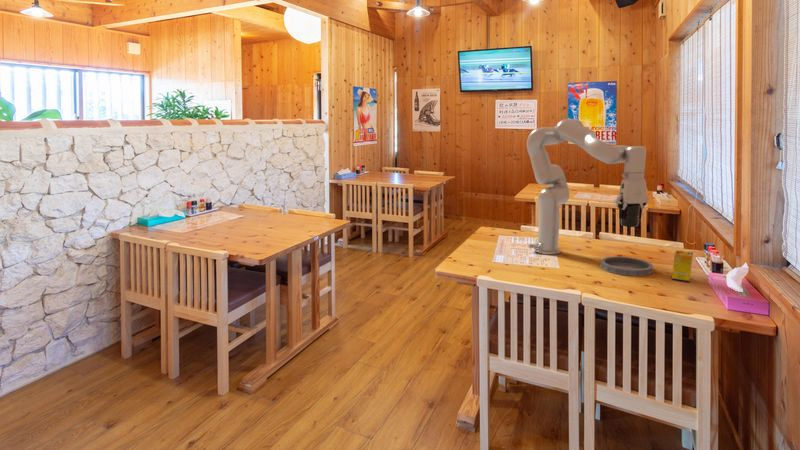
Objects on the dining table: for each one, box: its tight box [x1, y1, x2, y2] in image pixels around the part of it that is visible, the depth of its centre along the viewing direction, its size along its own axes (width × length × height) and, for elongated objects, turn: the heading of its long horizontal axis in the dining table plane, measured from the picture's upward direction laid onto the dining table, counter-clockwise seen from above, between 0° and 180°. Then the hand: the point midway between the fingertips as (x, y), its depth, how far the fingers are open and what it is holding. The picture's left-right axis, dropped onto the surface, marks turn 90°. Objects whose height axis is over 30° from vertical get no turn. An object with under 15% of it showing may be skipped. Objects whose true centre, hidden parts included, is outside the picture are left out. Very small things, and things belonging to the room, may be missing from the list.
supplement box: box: [671, 250, 694, 284], centre depth 182 cm, size 6×6×11 cm
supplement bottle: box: [620, 204, 640, 228], centre depth 194 cm, size 7×7×12 cm
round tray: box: [599, 256, 654, 277], centre depth 197 cm, size 20×20×2 cm
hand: (630, 218), depth 195 cm, fingers closed on supplement bottle, 6 cm apart
